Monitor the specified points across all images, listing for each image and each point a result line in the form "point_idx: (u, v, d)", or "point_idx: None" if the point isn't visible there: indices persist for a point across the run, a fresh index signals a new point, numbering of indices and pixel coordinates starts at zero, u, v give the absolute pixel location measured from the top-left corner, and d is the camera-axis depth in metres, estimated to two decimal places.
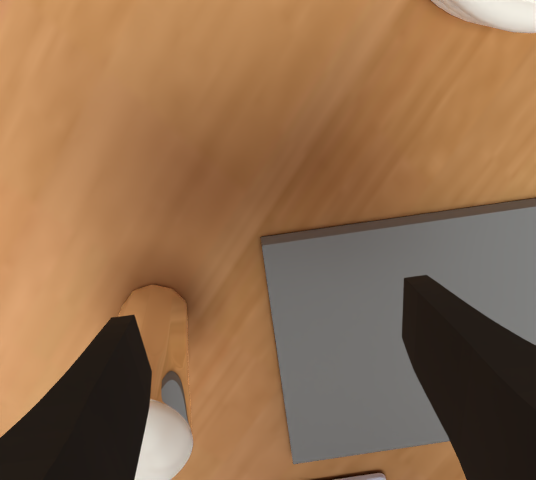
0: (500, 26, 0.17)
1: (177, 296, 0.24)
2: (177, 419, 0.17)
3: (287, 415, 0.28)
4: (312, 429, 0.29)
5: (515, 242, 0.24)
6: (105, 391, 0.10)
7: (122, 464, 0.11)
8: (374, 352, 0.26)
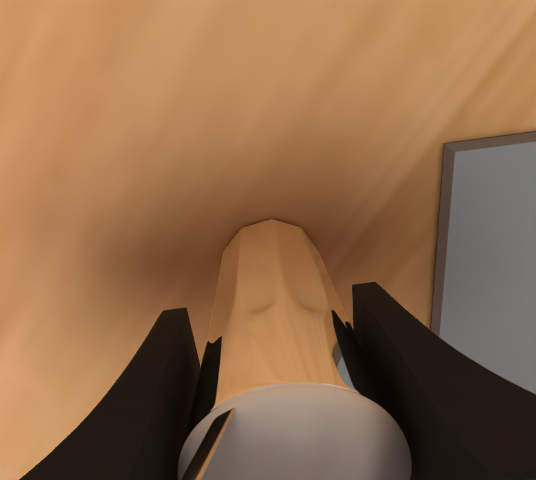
0: None
1: (308, 238, 0.16)
2: (397, 429, 0.09)
3: None
4: None
5: None
6: (169, 382, 0.10)
7: None
8: None
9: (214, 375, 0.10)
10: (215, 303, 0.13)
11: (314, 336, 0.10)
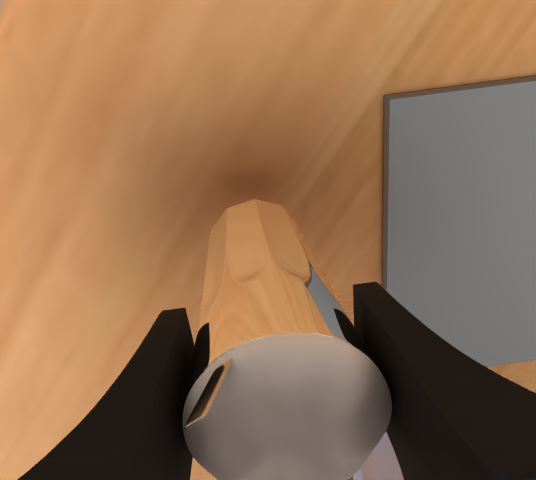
0: None
1: (289, 215, 0.17)
2: (377, 371, 0.10)
3: None
4: None
5: None
6: (168, 382, 0.10)
7: (182, 455, 0.11)
8: (492, 242, 0.24)
9: (211, 335, 0.11)
10: (206, 277, 0.14)
11: (300, 296, 0.11)
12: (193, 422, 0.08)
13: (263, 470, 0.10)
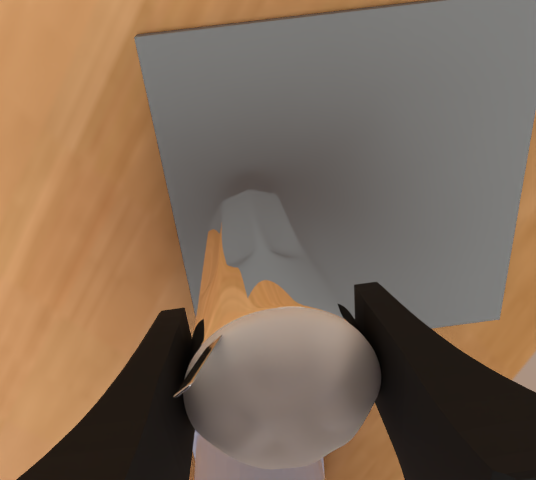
0: None
1: (284, 202, 0.17)
2: (362, 339, 0.11)
3: (191, 289, 0.24)
4: None
5: (452, 50, 0.19)
6: (166, 383, 0.10)
7: (181, 456, 0.11)
8: (289, 204, 0.22)
9: (205, 317, 0.11)
10: (204, 266, 0.15)
11: (287, 274, 0.12)
12: (181, 390, 0.08)
13: (261, 439, 0.11)
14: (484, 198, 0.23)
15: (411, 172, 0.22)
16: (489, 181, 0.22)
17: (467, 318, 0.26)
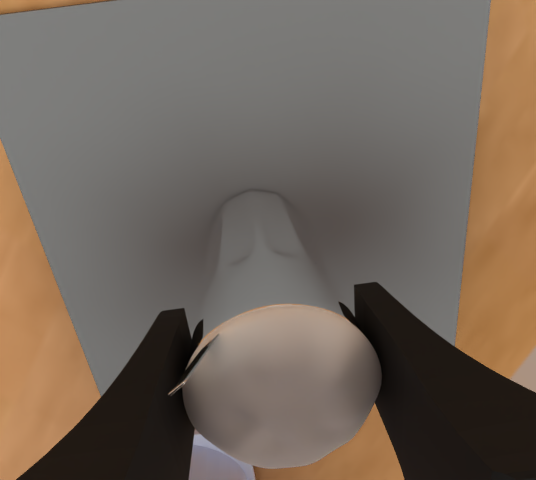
0: None
1: (285, 202, 0.17)
2: (361, 336, 0.11)
3: (76, 328, 0.20)
4: (119, 352, 0.21)
5: (368, 35, 0.15)
6: (166, 382, 0.10)
7: (181, 456, 0.11)
8: (183, 227, 0.18)
9: (204, 316, 0.11)
10: (206, 266, 0.15)
11: (285, 272, 0.12)
12: (175, 388, 0.08)
13: (261, 437, 0.11)
14: (424, 217, 0.19)
15: (330, 187, 0.18)
16: (428, 196, 0.18)
17: None
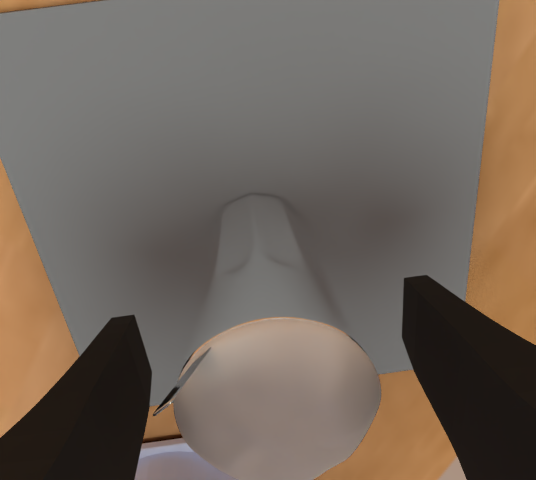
0: None
1: (287, 207, 0.17)
2: (360, 351, 0.10)
3: (73, 335, 0.19)
4: None
5: (373, 35, 0.15)
6: (105, 391, 0.10)
7: (122, 464, 0.11)
8: (182, 232, 0.18)
9: (197, 327, 0.11)
10: (203, 273, 0.15)
11: (282, 282, 0.11)
12: (161, 408, 0.08)
13: (254, 455, 0.10)
14: (429, 222, 0.18)
15: (333, 191, 0.17)
16: (433, 201, 0.18)
17: None
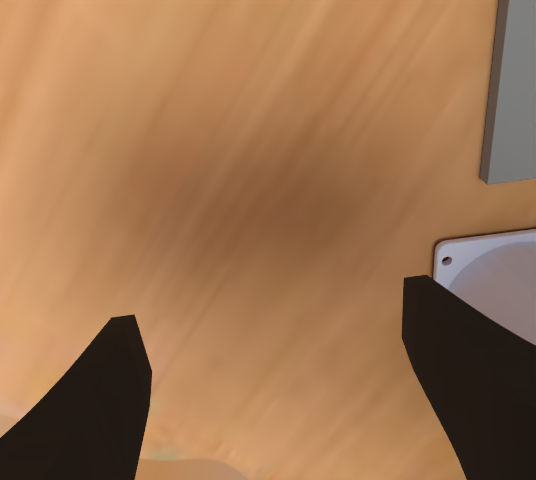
0: None
1: None
2: None
3: (500, 83, 0.20)
4: (528, 116, 0.21)
5: None
6: (105, 391, 0.10)
7: (122, 464, 0.11)
8: None
9: None
10: None
11: None
12: None
13: None
14: None
15: None
16: None
17: None
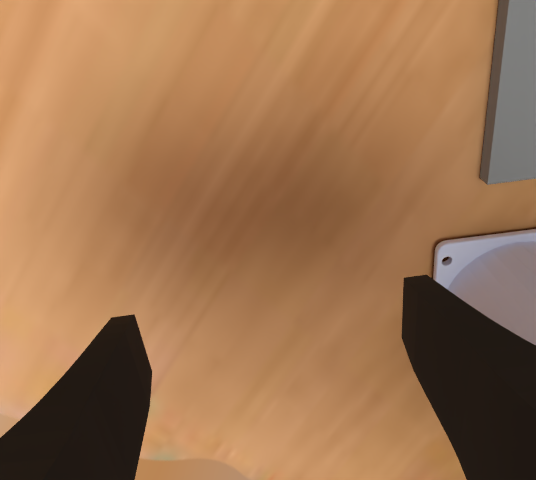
0: None
1: None
2: None
3: (500, 83, 0.20)
4: (528, 116, 0.21)
5: None
6: (105, 391, 0.10)
7: (122, 464, 0.11)
8: None
9: None
10: None
11: None
12: None
13: None
14: None
15: None
16: None
17: None
